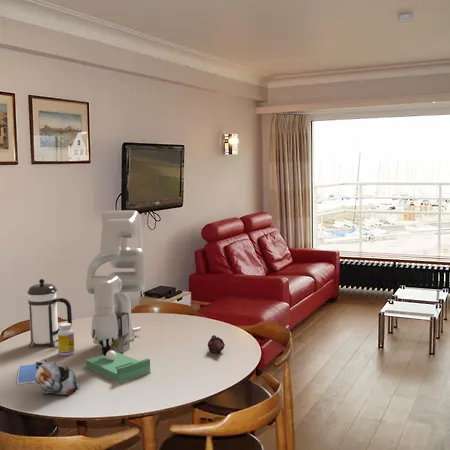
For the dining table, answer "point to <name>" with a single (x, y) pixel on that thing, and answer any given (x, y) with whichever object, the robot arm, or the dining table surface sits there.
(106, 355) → the ball
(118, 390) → the dining table surface
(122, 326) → the coffee box
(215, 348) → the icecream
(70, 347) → the supplement bottle
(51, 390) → the lucky cat figurine
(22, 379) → the tablet computer
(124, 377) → the green
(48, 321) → the coffee press
